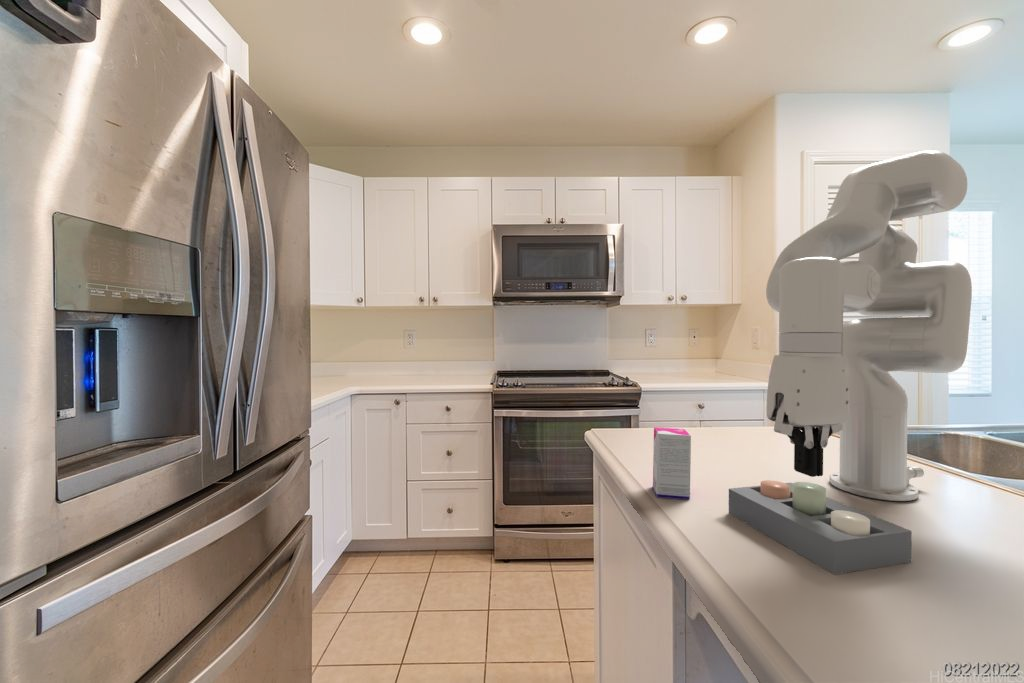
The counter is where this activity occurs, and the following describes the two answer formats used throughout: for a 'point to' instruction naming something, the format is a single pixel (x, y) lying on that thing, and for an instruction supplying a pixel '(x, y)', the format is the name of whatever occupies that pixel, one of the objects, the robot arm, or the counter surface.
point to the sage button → (809, 498)
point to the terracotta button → (775, 489)
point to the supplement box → (671, 463)
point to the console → (822, 532)
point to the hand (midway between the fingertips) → (808, 473)
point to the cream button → (850, 522)
